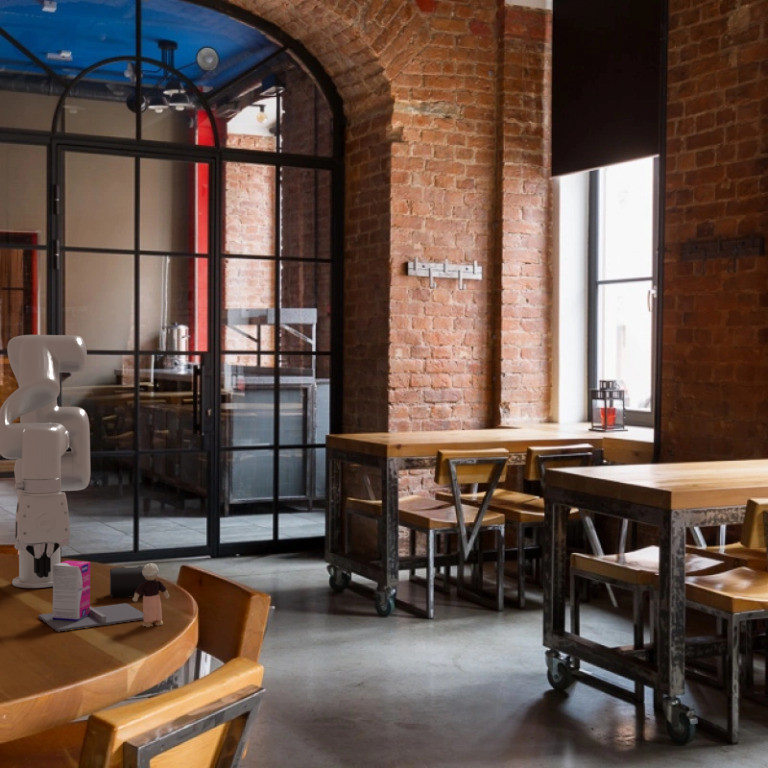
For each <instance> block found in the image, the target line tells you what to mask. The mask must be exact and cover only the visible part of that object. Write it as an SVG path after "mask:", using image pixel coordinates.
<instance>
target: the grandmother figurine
mask: <svg viewBox="0 0 768 768" xmlns="http://www.w3.org/2000/svg"><path fill="white" fill-rule="evenodd" d="M143 566H144V567H143V570H142V573H143V576H144V577H145V579H146V580H148V581H147V582H144V583H142V584H140V585H139V586H138V588H137V589H136V591H135V594H134V597H132V599H131V600H132V601H133V602H138V599H139V597H141V596H140V595H142V594H144V595H143V596H142V612H143V619H144V620H143V622H141V626H142V625H143V626H142V627H144V626H146V627H145V628H151V627H150V626H152V627H153V626H154V625H155V626H163V625H164V622H163V620H162V619H163V616H162V614H163V612H162V611H163V610H162V602H161V597H160V596H161V595H160V592H161V593H162V595H163V596H164V598H165V600H166V599H169V598H170V594H169V591H168V590H167V587H166V585H164V583H163V582H161V580H157V577H158V575H159V574H160V573H159V572H160V570H159V568H158V565H157V563H147V564H145V565H143ZM155 578H156V580H155ZM153 623H154V624H153Z"/></svg>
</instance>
